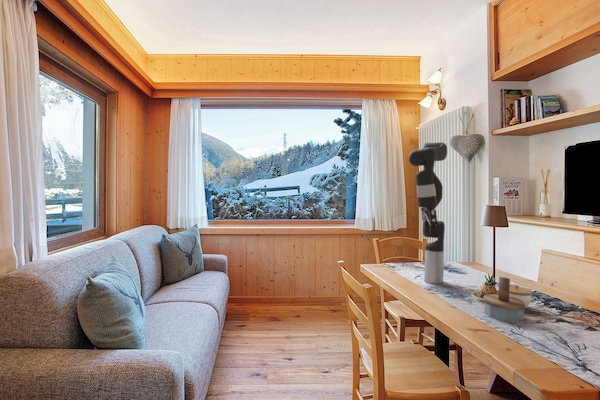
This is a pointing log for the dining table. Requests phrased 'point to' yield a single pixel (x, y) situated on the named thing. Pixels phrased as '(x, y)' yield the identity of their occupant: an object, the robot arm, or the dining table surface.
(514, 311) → the ceramic bowl
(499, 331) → the dining table surface
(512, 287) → the lidded jar
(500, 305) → the walnut lid
